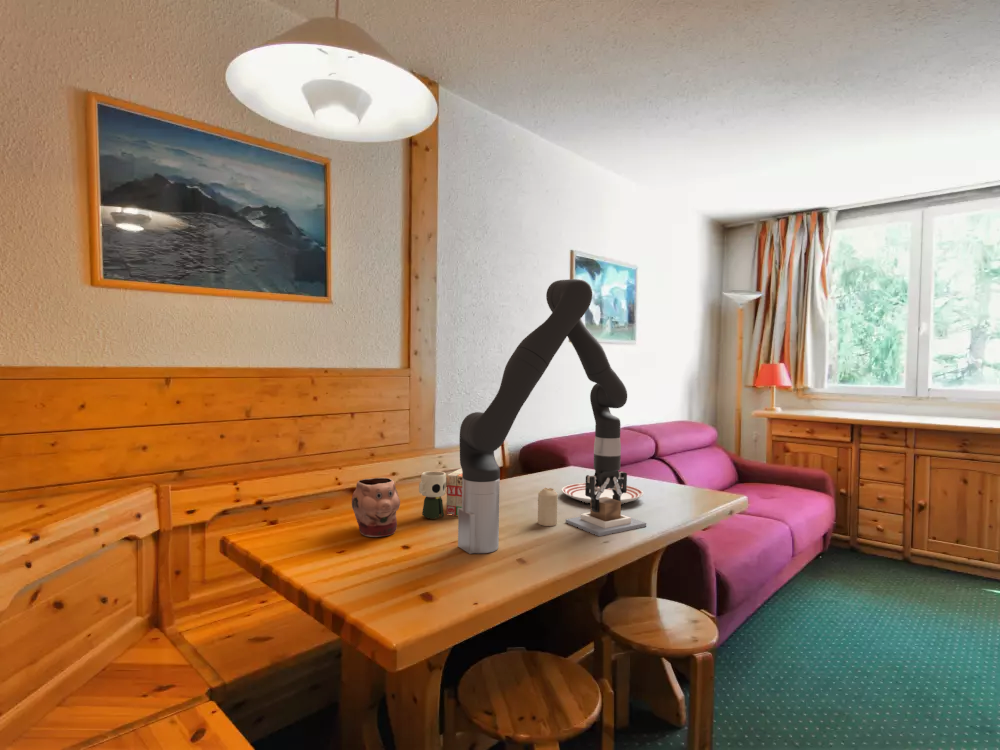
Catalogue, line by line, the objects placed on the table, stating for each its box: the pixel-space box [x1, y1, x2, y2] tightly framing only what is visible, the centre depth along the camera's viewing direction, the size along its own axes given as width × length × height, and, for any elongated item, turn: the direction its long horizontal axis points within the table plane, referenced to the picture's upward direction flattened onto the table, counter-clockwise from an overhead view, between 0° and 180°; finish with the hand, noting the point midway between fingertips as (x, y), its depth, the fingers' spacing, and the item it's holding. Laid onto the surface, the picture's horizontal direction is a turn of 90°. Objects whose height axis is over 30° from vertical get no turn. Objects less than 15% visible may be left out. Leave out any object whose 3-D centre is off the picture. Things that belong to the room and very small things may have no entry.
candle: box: [537, 487, 559, 527], centre depth 155 cm, size 6×6×10 cm
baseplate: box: [564, 511, 647, 537], centre depth 155 cm, size 18×14×2 cm
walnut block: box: [589, 497, 622, 521], centre depth 155 cm, size 6×6×6 cm
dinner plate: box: [561, 482, 644, 505], centre depth 186 cm, size 27×27×3 cm
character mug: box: [418, 470, 447, 520], centre depth 159 cm, size 11×7×13 cm, turn 140°
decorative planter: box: [351, 477, 401, 538], centre depth 146 cm, size 20×12×14 cm, turn 36°
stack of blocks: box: [446, 467, 462, 516], centre depth 171 cm, size 21×6×12 cm, turn 162°
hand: (605, 510), depth 155 cm, fingers open, 7 cm apart
